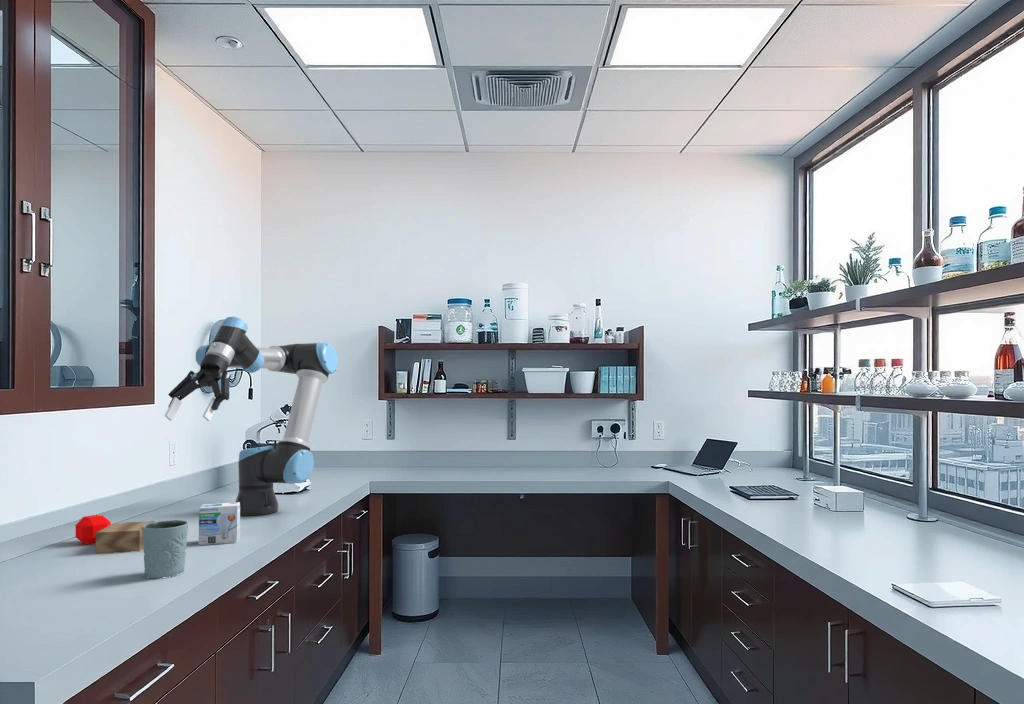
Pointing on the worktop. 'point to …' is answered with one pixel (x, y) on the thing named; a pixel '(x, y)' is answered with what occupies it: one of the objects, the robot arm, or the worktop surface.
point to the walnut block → (120, 537)
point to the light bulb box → (219, 523)
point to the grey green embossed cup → (164, 548)
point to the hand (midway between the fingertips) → (186, 418)
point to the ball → (90, 528)
